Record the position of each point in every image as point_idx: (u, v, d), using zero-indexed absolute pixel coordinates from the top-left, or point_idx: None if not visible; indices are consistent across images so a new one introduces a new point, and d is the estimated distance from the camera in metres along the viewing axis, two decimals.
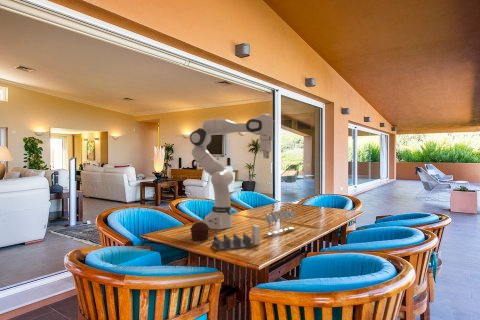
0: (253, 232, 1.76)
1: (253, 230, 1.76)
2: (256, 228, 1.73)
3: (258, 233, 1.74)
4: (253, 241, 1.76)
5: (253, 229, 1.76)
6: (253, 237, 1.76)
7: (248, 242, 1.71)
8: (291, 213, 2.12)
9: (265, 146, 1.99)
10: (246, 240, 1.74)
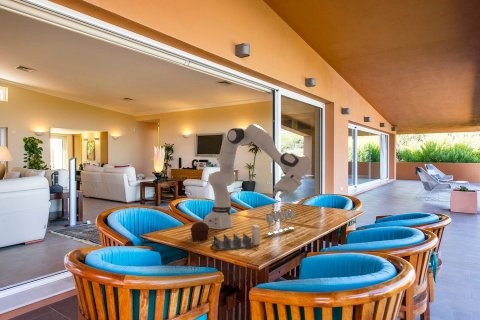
0: (253, 232, 1.76)
1: (253, 230, 1.76)
2: (256, 228, 1.73)
3: (258, 233, 1.74)
4: (253, 241, 1.76)
5: (253, 229, 1.76)
6: (253, 237, 1.76)
7: (248, 242, 1.71)
8: (291, 213, 2.12)
9: (294, 189, 1.72)
10: (246, 240, 1.74)
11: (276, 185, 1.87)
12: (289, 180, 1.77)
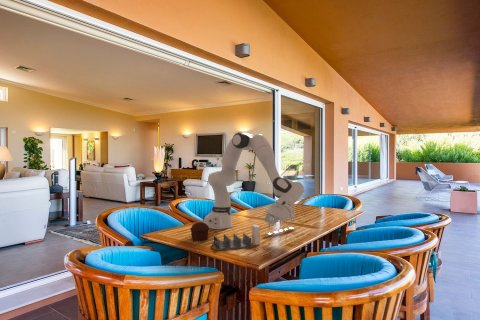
0: (253, 232, 1.76)
1: (253, 230, 1.76)
2: (256, 228, 1.73)
3: (258, 233, 1.74)
4: (253, 241, 1.76)
5: (253, 229, 1.76)
6: (253, 237, 1.76)
7: (248, 242, 1.71)
8: (291, 213, 2.12)
9: (285, 217, 1.71)
10: (246, 240, 1.74)
11: (268, 210, 1.86)
12: (281, 207, 1.75)
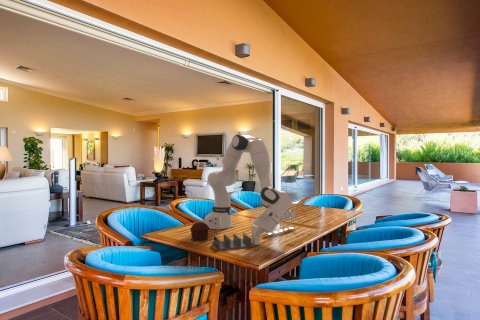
0: (253, 232, 1.76)
1: (253, 230, 1.76)
2: (256, 228, 1.73)
3: None
4: (253, 241, 1.76)
5: (253, 229, 1.76)
6: (253, 237, 1.76)
7: (248, 242, 1.71)
8: (291, 213, 2.12)
9: (272, 229, 1.68)
10: (246, 240, 1.74)
11: (255, 221, 1.83)
12: (268, 218, 1.73)
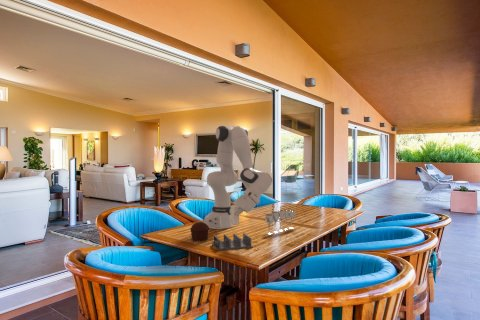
0: (232, 212, 1.72)
1: (232, 210, 1.72)
2: (235, 208, 1.70)
3: None
4: (232, 221, 1.72)
5: (232, 209, 1.72)
6: (232, 217, 1.72)
7: (248, 242, 1.71)
8: (291, 213, 2.12)
9: (250, 208, 1.65)
10: (246, 240, 1.74)
11: (235, 201, 1.80)
12: (247, 198, 1.69)
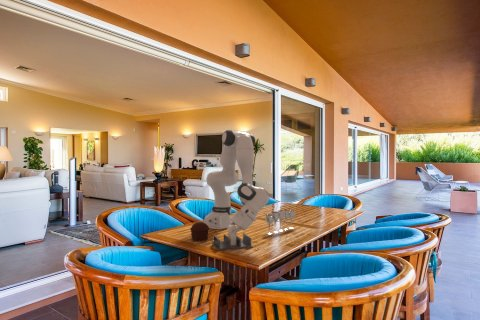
0: (229, 232, 1.71)
1: (229, 230, 1.71)
2: (232, 228, 1.69)
3: None
4: None
5: (229, 229, 1.71)
6: (229, 237, 1.71)
7: (248, 242, 1.71)
8: (291, 213, 2.12)
9: (247, 226, 1.64)
10: (246, 240, 1.74)
11: (233, 218, 1.79)
12: (244, 215, 1.69)
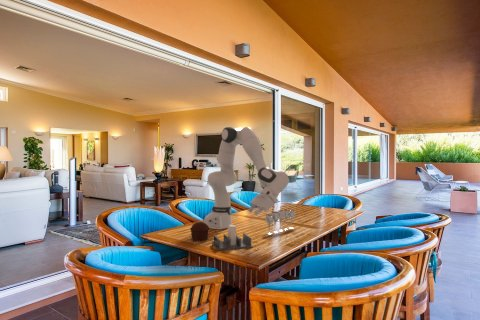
0: (229, 232, 1.71)
1: (229, 230, 1.71)
2: (232, 228, 1.69)
3: (234, 233, 1.70)
4: None
5: (229, 229, 1.71)
6: (229, 237, 1.71)
7: (248, 242, 1.71)
8: (291, 213, 2.12)
9: (269, 207, 1.68)
10: (246, 240, 1.74)
11: (253, 200, 1.83)
12: (265, 197, 1.72)
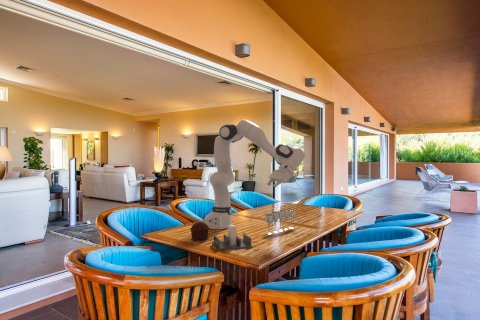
0: (229, 232, 1.71)
1: (229, 230, 1.71)
2: (232, 228, 1.69)
3: (234, 233, 1.70)
4: None
5: (229, 229, 1.71)
6: (229, 237, 1.71)
7: (248, 242, 1.71)
8: (291, 213, 2.12)
9: (287, 179, 1.83)
10: (246, 240, 1.74)
11: (271, 175, 1.98)
12: (283, 170, 1.87)
